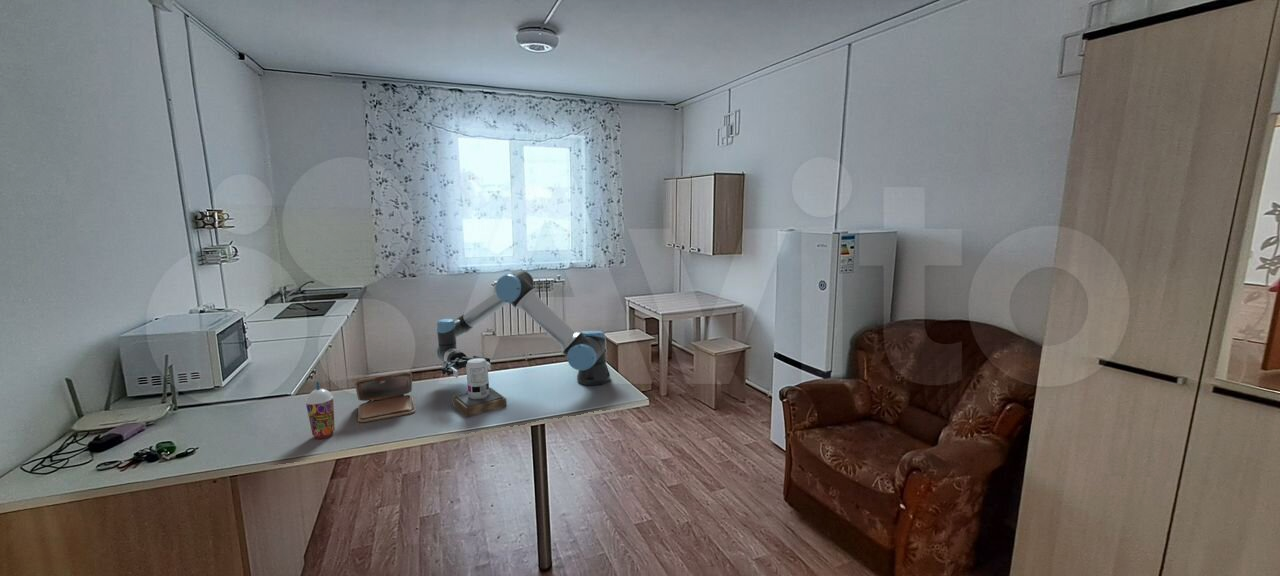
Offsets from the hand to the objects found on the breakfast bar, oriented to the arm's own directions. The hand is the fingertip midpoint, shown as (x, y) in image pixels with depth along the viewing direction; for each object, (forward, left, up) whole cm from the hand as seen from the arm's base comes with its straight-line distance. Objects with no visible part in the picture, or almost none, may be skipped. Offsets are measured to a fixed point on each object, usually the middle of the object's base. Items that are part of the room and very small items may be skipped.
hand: (473, 370), depth 204 cm
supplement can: (0, +3, -10) cm, 11 cm away
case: (+30, -18, -15) cm, 38 cm away
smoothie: (+53, -7, -14) cm, 55 cm away
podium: (0, +3, -14) cm, 14 cm away
